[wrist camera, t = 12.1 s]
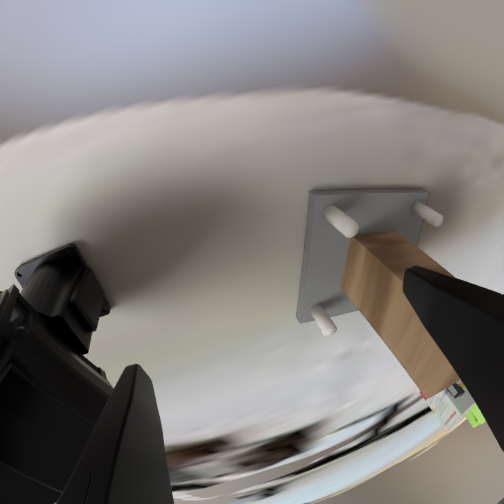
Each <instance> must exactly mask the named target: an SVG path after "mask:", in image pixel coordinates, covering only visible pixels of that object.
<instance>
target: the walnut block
mask: <svg viewBox="0 0 504 504" xmlns="http://www.w3.org/2000/svg"><path fill="white" fill-rule="evenodd" d="M413 265H417V266H420V267H424V268H427V269H430V270H433V271H436V272H439V273H442V274H445V275H448V276H451V277H454V276H453V275H452V274H450V273H449V272H448V271H447V270H445V269H444V268H443V267H442V266H441V265H439V264H438V263H437V262H436V261H434V260H433V259H432V258H431V257H429V256H428V255H427V254H425V253H424V252H423V251H422V250H420V249H419V248H418V247H416V246H415V245H414V244H412V243H411V242H410V241H408V240H407V239H406V238H404V237H403V236H402V235H400V234H399V233H398V232H396V231H392V232H379V233H366V234H356V235H355V236H353V237H351V238H350V240H349V245H348V250H347V255H346V260H345V264H344V269H343V273H342V278H341V282H340V287H341V288H342V290H343V291H344V292H345V293H346V295H347V296H348V297H349V298H350V300H351V301H352V302H353V303H354V304H355V306H356V307H357V308H358V309H359V311H360V312H361V313H362V314H363V316H364V317H365V318H366V320H367V321H368V322H369V323H370V325H371V326H372V327H373V328H374V330H375V331H376V332H377V334H378V335H379V336H380V337H381V339H382V340H383V341H384V343H385V344H386V345H387V346H388V348H389V349H390V350H391V352H392V353H393V354H394V356H395V357H396V358H397V360H398V361H399V362H400V364H401V365H402V366H403V368H404V369H405V370H406V372H407V373H408V374H409V376H410V377H411V378H412V380H413V381H414V382H415V384H416V385H417V387H418V388H419V389H420V391H421V392H422V393H423V395H424V396H425V398H426V399H429V398H431V397H432V396H434V395H436V394H438V393H439V392H441V391H443V390H444V389H446V388H448V387H449V386H451V385H453V384H454V383H456V382H458V381H459V380H461V379H460V378H459V376H458V375H457V373H456V372H455V370H454V369H453V367H452V366H451V364H450V363H449V361H448V360H447V359H446V357H445V356H444V354H443V353H442V351H441V350H440V349H439V347H438V346H437V344H436V343H435V341H434V340H433V339H432V337H431V336H430V335H429V333H428V332H427V330H426V329H425V327H424V326H423V324H422V323H421V321H420V319H419V318H418V316H417V314H416V313H415V311H414V309H413V308H412V306H411V304H410V303H409V301H408V300H407V298H406V296H405V295H404V293H403V289H402V286H403V278H404V271H405V269H407V268H409V267H411V266H413ZM454 278H455V277H454Z"/></svg>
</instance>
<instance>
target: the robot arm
mask: <svg viewBox="0 0 504 504" xmlns="http://www.w3.org/2000/svg"><path fill="white" fill-rule="evenodd" d="M69 250H72V251H73V253H70V252H69ZM19 272H20V273H21V274H22V275H21V274H20V273H19ZM15 276H16V278H17V280H18V281H19V283H20V284H21V286H22V288H23V289H22V291H21V293H19V289H18V288H17V287H16V286H15V285H14V284H13V285H12V286H11V287H10V288H9V289H8V290H7V289H6V290H5V291H4V292H2V291H1V292H0V504H55V503H56V504H174V501H173V495H172V490H171V485H170V479H169V473H168V467H167V461H166V454H165V447H164V439H163V432H162V425H161V420H160V416H159V412H158V407H157V403H156V398H155V393H154V388H153V384H152V381H151V379H150V377H149V376H148V375H147V374H146V372H145V371H144V370H143V369H142V367H141V366H140V365H139V364H133V365H129V366H127V367H126V368H125V369H124V371H123V373H122V375H121V377H120V378H119V380H118V382H117V384H116V386H115V388H113V387H112V386H111V384H110V383H109V381H108V380H107V378H106V374H105V371H103V370H102V369H101V368H100V367H98V368H97V367H96V366H95V365H94V364H93V363H91V362H90V361H89V360H88V359H87V358H85V357H84V356H83V355H84V354H87V353H88V352H89V346H90V341H91V336H92V332H94V331H96V329H97V326H98V321H99V317H102V316H105V315H108V314H109V313H110V309H111V307H110V305H109V303H108V301H107V300H106V298H105V297H104V295H105V293H104V291H103V290H102V288H101V286H100V285H99V283H98V281H97V279H96V278H95V276H94V274H93V272H92V270H91V269H90V268H89V267H87V265H86V263H85V262H84V260H83V258H82V256H81V254H80V252H79V250H78V248H77V247H76V246H75V245H74V244H69V245H66V246H64V247H61V248H59V249H57V250H54V251H52V252H50V253H48V254H45V255H43V256H41V257H39V258H36V259H34V260H32V261H30V262H28V263H26V264H23V265H21V266H19V267H18V268H17V269H16V270H15ZM402 289H403V293H404V295H405V296H406V298H407V300H408V301H409V303H410V304H411V306H412V308H413V309H414V311H415V313H416V314H417V316H418V318H419V319H420V321H421V323H422V324H423V326H424V327H425V329H426V330H427V332H428V333H429V335H430V336H431V337H432V339H433V340H434V341H435V343H436V344H437V346H438V347H439V349H440V350H441V351H442V353H443V354H444V356H445V357H446V359H447V360H448V361H449V363H450V364H451V366H452V367H453V369H454V370H455V372H456V373H457V375H458V376H459V378H460V379H461V381H462V383H463V384H464V386H465V387H466V389H467V390H468V392H469V393H470V395H471V397H472V398H473V400H474V402H475V403H476V405H477V406H478V408H479V410H480V411H481V413H482V415H483V417H484V418H485V420H486V422H487V423H488V425H489V427H490V429H491V431H492V432H493V434H494V436H495V438H496V440H497V441H498V443H499V445H500V447H501V449H502V450H503V451H504V294H502V295H501V293H498V292H495V291H492V290H489V289H486V288H484V287H481V286H478V285H475V284H472V283H469V282H466V281H463V280H460V279H457V278H454V277H451V276H448V275H445V274H442V273H439V272H436V271H433V270H430V269H427V268H424V267H420V266H417V265H413V266H411V267H409V268H407V269H405V271H404V278H403V286H402ZM103 308H106V310H105V309H103ZM497 504H504V498H503V499H502V500H501V501H500V502H499V503H497Z"/></svg>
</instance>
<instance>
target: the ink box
mask: <svg viewBox="0 0 504 504" xmlns="http://www.w3.org/2000/svg"><path fill="white" fill-rule="evenodd" d="M420 393H421V395H422V396H423V398H424V399H425V400H426V402H427V403H428V405H429V406H430V407H431V409H432V410H433V412H434V413H435V415H436V416H437V417H438V419H439V420H440V422H441V423H442V425H443V426H444V428H445V429H446V430H449V429H451V428H452V427H453V426H454V425H455V424H457V423H458V422H459V421H460V420H461V419H463V417H464V416H465V415H466V414H467V412H468V411H469V410H470V409H471V407H472V406H473V405H474V404H475V402H474V400H473V398H472V397H471V395H470V393H469V392H468V390H467V389H466V387H465V386H464V384H463V383H462V382H461V380H459V381H458V382H456V383H454V384H453V385H451V386H449V387H448V388H446V389H444V390H443V391H441V392H439V393H438V394H436V395H434V396H432V397H431V398H429V399H426V398H425V396H424V395H423V393H422V392H420Z"/></svg>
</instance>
